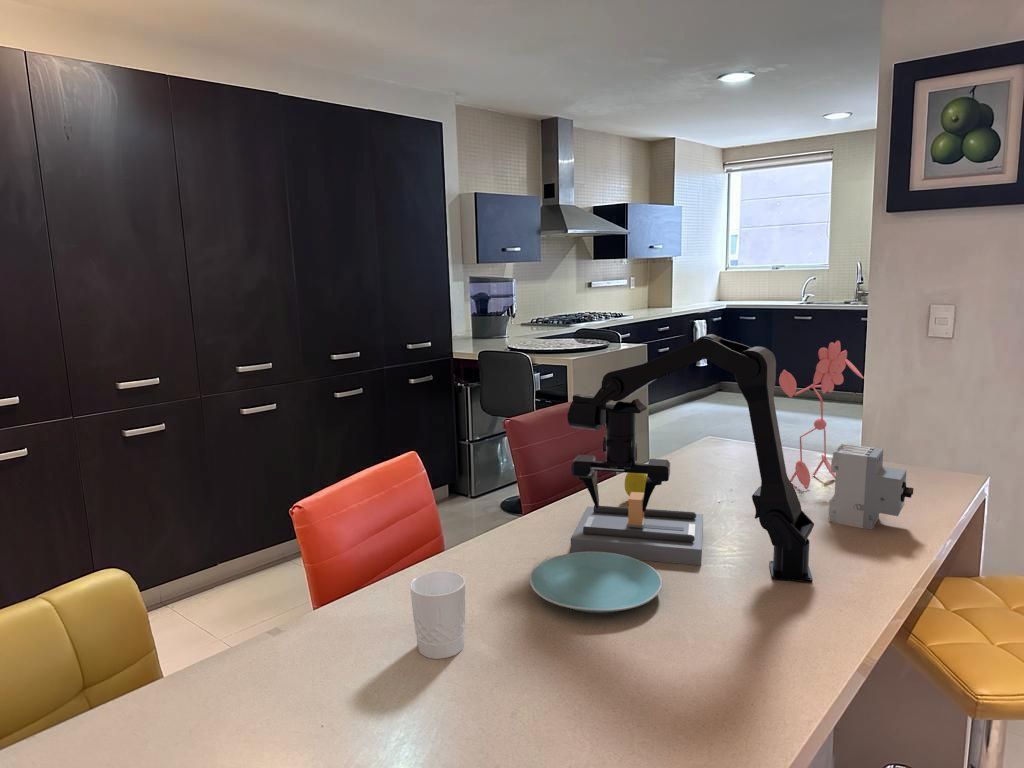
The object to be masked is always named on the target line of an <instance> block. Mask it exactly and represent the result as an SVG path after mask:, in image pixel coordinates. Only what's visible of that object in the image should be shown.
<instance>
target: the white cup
mask: <svg viewBox="0 0 1024 768" xmlns="http://www.w3.org/2000/svg"><path fill="white" fill-rule="evenodd" d="M409 588H410V599H411V606H412V607H411V608H412V616H413V617H412V618H413V623H414V631H415V635H416V636H415V637H416V644H417V650H418V652H419V653H420V654H421V655H422V656H424V657H425V658H428V659H433V660H439V659H442V660H443V659H447V658H450V657H451V658H452V657H454V656H456V655H457V654H459V653H460V652H461V651H462V650H464V649H463V648H464V646H465V627H466V578H465V577H464V576H463V575H461V574H460V573H458V572H455V571H451V570H450V571H449V570H434V571H429V572H425V573H423V574H420V575H418V576H416V577H414V578H413V579H412V580H411V581H410V584H409Z"/></svg>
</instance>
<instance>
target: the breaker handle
mask: <svg viewBox="0 0 1024 768" xmlns="http://www.w3.org/2000/svg"><path fill="white" fill-rule="evenodd" d="M643 499H644V493H641V492H631V493H630V496H629V495H628V500H627V502H628V503H627V505H628V506H627V508H628V527H638V528H643V527H644V523H645V518H644V512H643Z"/></svg>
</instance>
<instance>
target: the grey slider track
mask: <svg viewBox="0 0 1024 768" xmlns="http://www.w3.org/2000/svg"><path fill="white" fill-rule="evenodd" d="M593 507H594V512H600V513H614V514H627V515H628V507H623V506H608V505H599V507H598V508H596V507H595V504H594V505H593ZM696 514H697V513H696V512H695V511H694V512H693V511H684V510H683V511H682V510H667V509H652V508H646V510H645V512H644V516H655V517H669V518H683V519H695V518H696ZM583 534H592V535H604V536H617V537H629V538H641V539H654V540H666V541H678V542H693V541H694V540H695V538H694V536H693V535H687V534H675V533H662V532H649V531H636V530H623V529H611V528H598V527H585V526H584V527H583Z"/></svg>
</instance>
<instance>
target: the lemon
mask: <svg viewBox="0 0 1024 768" xmlns="http://www.w3.org/2000/svg"><path fill="white" fill-rule="evenodd" d="M646 480H647V474H642V473H626V475H625V478H624V491H625V492H626V495H628V497H629V496H630V493H631V492H641V493H644V492H645V484H646Z"/></svg>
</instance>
